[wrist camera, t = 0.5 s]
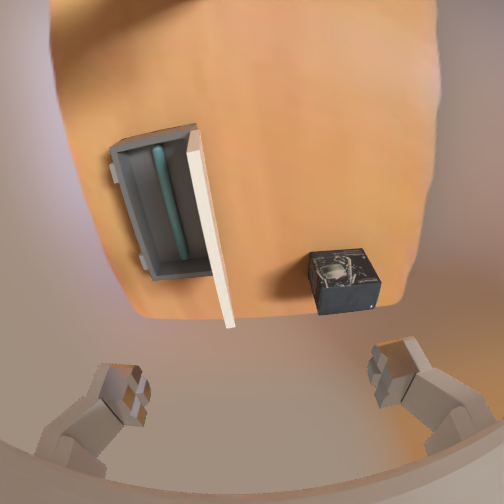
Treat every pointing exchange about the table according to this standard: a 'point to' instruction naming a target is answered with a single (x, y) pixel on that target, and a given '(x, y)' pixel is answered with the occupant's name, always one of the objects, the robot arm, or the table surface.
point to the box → (343, 281)
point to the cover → (209, 223)
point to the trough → (162, 202)
